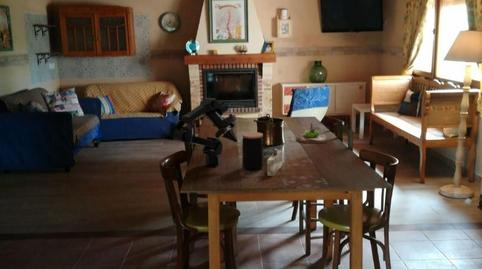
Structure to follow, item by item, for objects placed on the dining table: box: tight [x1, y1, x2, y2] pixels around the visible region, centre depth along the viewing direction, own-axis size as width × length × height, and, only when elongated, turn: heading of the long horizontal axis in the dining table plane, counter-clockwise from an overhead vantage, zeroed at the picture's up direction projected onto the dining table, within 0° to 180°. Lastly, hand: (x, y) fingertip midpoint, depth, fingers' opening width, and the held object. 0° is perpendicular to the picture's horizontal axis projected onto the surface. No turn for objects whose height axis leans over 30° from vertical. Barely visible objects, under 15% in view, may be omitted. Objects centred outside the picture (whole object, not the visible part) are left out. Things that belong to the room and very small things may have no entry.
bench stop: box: [266, 148, 284, 177], centre depth 238 cm, size 3×20×11 cm, turn 162°
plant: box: [295, 122, 328, 145], centre depth 303 cm, size 20×20×11 cm
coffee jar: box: [241, 131, 264, 172], centre depth 241 cm, size 11×11×18 cm
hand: (236, 141), depth 243 cm, fingers closed
